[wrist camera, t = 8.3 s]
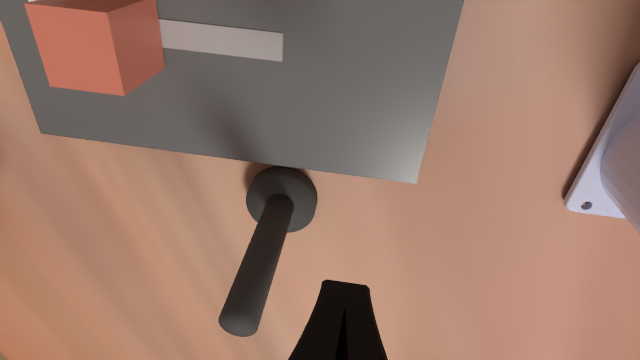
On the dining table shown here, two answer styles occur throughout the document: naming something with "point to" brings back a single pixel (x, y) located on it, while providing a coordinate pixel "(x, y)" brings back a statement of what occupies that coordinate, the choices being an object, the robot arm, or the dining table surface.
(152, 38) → the knob
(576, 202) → the robot arm
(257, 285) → the post
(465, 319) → the dining table surface
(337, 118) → the breaker panel
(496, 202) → the dining table surface
